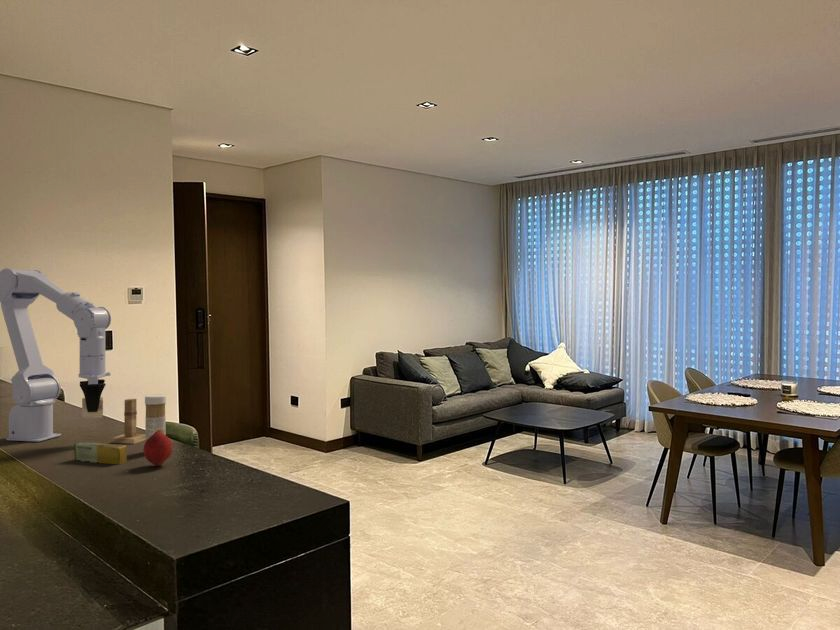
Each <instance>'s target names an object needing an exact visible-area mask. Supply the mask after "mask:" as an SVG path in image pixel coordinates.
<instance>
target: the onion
mask: <svg viewBox="0 0 840 630" xmlns="http://www.w3.org/2000/svg"><path fill="white" fill-rule="evenodd" d="M173 451H174V445H173V442H172V440H171V439H170V437H169V436H167V435H166V434H165V435H164V434H163V433H162V430H161V429H157V431H156V432H155V433H154V434H153V435H152V436H150V437H149V439H148V440H147V441H146V440H145V443H144V445H143V455H144V458H145V459H146V460H147V462H149V463H150V464H152V465H154V466H156V467H160V466H162V465H163V464H164V463H165V462H166V461H167V460H168V459H169V458H170V457H171V456H172V454H173Z"/></svg>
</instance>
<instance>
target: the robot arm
mask: <svg viewBox="0 0 840 630" xmlns="http://www.w3.org/2000/svg"><path fill="white" fill-rule="evenodd" d="M39 296H43V297H44V298H45V299H48V300H50V301H51V302H53V303H55V305H56V306H55V307H56V309H57V310H58V312H60V313H61V314H63V315H65V316H66V317H68V319H70V320H71V321H73V324H74V326H75V328H76V330H77V333H76V334H77V336H78V338H79V373H78V378H80V379H85V380H80V381H79V387H80V389H81V391H82V393H83V397H84V398H85V401H86V407H87V411H88V412H97V411H98V408H99V402H100V397H102V393H103V391H104V389H105V387H106V385H107V384H106V383H105V382H106V380H105V379H102V378H105V377H109V376H111V372H109V371H108V372H106V329H108V328H109V327H110V325H111V322H112V316H111V313H110V311H109V310H108V309H107V308H106V307H105V306H98V307H97V306H95V305H94V303H93V302H91V301H87V300H86V299H85V298H83V297H81V294H80V292H76V291H68V292H66V291H64V290H63V289H62V288H61V287H59V286H58V285H57V284H55V282H53V281H52V280H50V279H49V277H48V275H47V274H46V273H43V272H42V271H41V270H37V269H35V270H28V269H27V270H26V269H11V268H3V269H1V270H0V308H1V312H2V315H3V318H4V323H5V326H6V329H7V333H8V337H9V341H10V343H11V344H10V345H11V346H12V350H13V354H14V357H15V361H16V363H17V369H18V371H17V372H16V373H14V375H13V376H12V377H11V379H10V381H11V385H12V388H11V389H12V390H11V394H12V395H11V396H12V398H13V401H14V402H15V403H16V404H15V405H13V406H12V407H11V409H10V411H9V414H8V437H7V438H6V441H15V442H18V441H19V442H36V443H37V442H43V441H46V440H50V439H54V438H57V437H61V435H62V433H54V426H53V425H54V404H53V403H56V400H57V399H58V398H59V396H60V394H61V387H62V386H61V384H60V382H59V380H58V379H57V377H56V375H55V373H54V370H52V369H51V368H49V367H48V366H46V365H44V363H43V361H42V357H41V354H40V350H39V345H38V343H37V339H36V335H35V332H34V329H33V326H32V323H31V318H30V315H29V312H28V308H29V305H32V304H33V303H34V302H35V301H36V300H37V299H38V297H39Z"/></svg>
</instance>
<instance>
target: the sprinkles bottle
mask: <svg viewBox="0 0 840 630" xmlns="http://www.w3.org/2000/svg"><path fill="white" fill-rule="evenodd" d="M166 403H167V396H166V395H165V394H159V393H158V394H157V393H156V394H147V395H145V396H144V404H145V405H144V406H145V426H144V427H145V433H144V434H145V437H146V440H145V442H146V441H147V440H148V439H149V437H150V436H152V435H153V434H154V433H155V432H156V431H157V429H161V430H162V433H163V434H164V435H166V427H167V426H166V425H167V423H166Z"/></svg>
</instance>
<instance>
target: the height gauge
mask: <svg viewBox="0 0 840 630" xmlns="http://www.w3.org/2000/svg"><path fill="white" fill-rule="evenodd" d="M137 413H138V412H137V398H125V399H124V412H123V416H124V421H123V423H124V426H123V428H124V432H123V433H124V434H121V435H118V436H115V437H112V439H111V441H112V442H111V444H112V443H113V444H129V445H132V444H133V445H135V444H138V443H140V442H143V441H146V437H145V433H137V415H138V414H137Z"/></svg>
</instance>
